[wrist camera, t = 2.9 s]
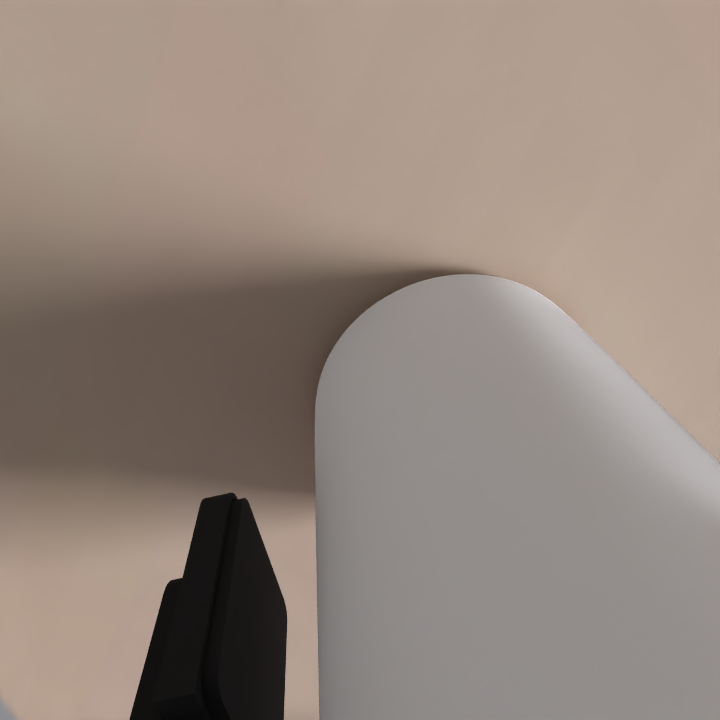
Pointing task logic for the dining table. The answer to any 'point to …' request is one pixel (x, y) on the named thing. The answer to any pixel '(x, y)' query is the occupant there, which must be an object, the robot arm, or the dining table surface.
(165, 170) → the dining table surface
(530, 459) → the can
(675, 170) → the dining table surface
